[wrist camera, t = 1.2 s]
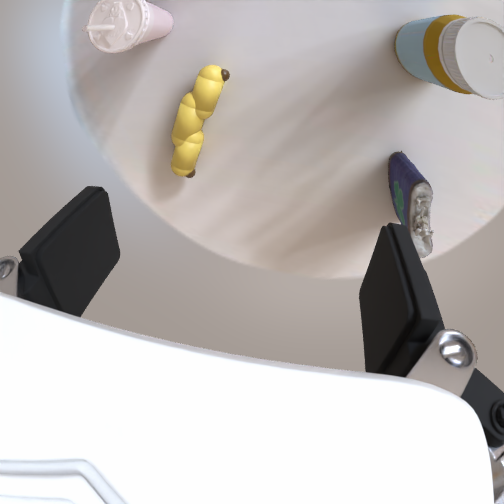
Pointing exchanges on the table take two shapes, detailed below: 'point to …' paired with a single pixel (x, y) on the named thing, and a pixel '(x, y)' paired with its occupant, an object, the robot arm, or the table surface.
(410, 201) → the flask
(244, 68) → the table surface
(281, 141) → the table surface
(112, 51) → the smoothie
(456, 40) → the bottle
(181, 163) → the yellow lumpy bar
